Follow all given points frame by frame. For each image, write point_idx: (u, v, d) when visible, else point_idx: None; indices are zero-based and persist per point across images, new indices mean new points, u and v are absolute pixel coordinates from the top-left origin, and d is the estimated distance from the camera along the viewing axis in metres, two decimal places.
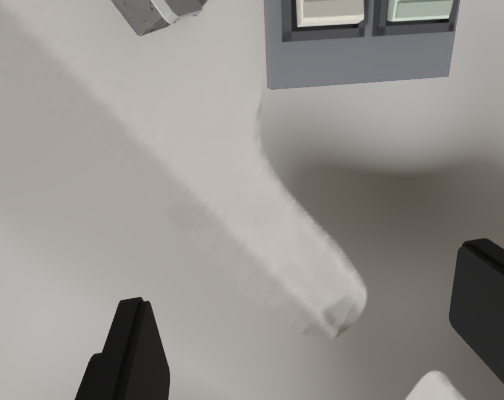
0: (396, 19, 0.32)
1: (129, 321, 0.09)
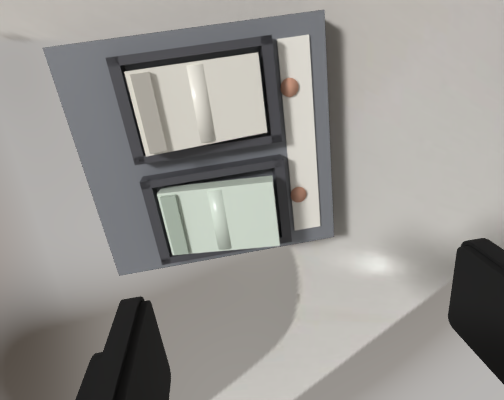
0: (159, 198, 0.27)
1: (130, 321, 0.09)
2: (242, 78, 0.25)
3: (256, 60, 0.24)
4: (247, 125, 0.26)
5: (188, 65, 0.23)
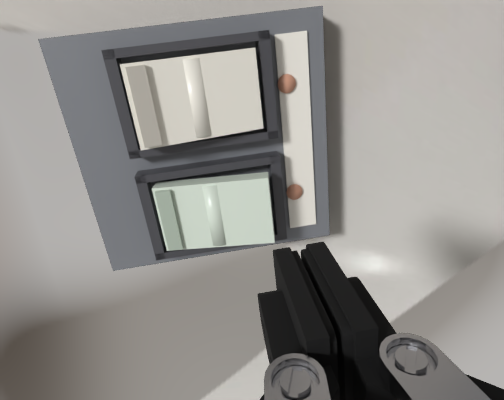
0: (154, 193, 0.27)
1: (293, 263, 0.10)
2: (239, 73, 0.24)
3: (253, 55, 0.24)
4: (243, 121, 0.26)
5: (184, 59, 0.23)
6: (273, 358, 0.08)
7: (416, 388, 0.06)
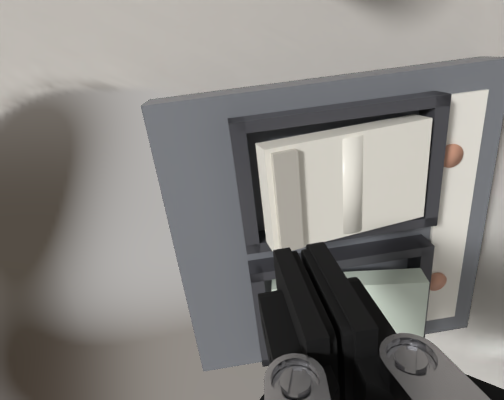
0: None
1: (293, 263, 0.10)
2: (407, 152, 0.18)
3: (428, 128, 0.18)
4: (402, 209, 0.19)
5: (345, 138, 0.17)
6: (273, 358, 0.08)
7: (416, 388, 0.06)
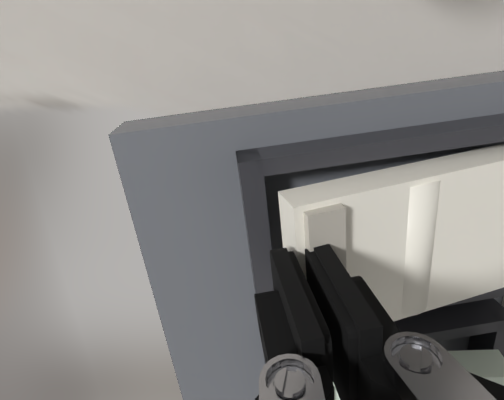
0: None
1: (289, 264, 0.10)
2: (498, 201, 0.12)
3: None
4: (483, 278, 0.14)
5: (414, 186, 0.11)
6: (268, 358, 0.08)
7: (420, 386, 0.06)
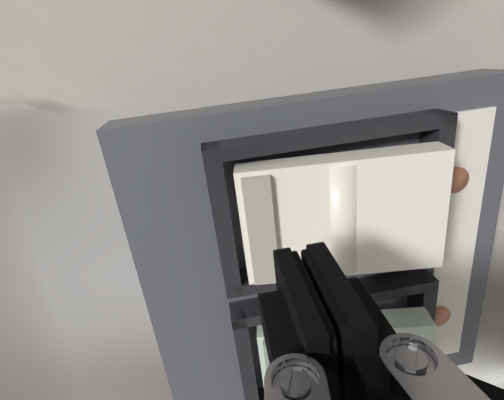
0: (260, 343, 0.18)
1: (293, 263, 0.10)
2: (418, 188, 0.15)
3: (449, 161, 0.14)
4: (411, 255, 0.16)
5: (332, 167, 0.14)
6: (273, 358, 0.08)
7: (416, 388, 0.06)
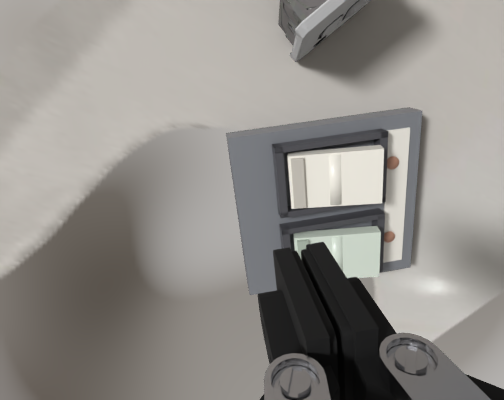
0: (295, 241, 0.37)
1: (293, 263, 0.10)
2: (368, 165, 0.34)
3: (381, 154, 0.33)
4: (367, 197, 0.35)
5: (330, 155, 0.33)
6: (273, 358, 0.08)
7: (416, 388, 0.06)
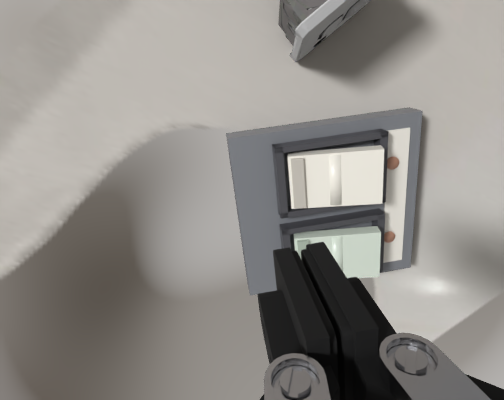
0: (295, 242, 0.37)
1: (293, 263, 0.10)
2: (368, 166, 0.34)
3: (382, 154, 0.33)
4: (367, 197, 0.35)
5: (330, 155, 0.33)
6: (273, 358, 0.08)
7: (416, 388, 0.06)
